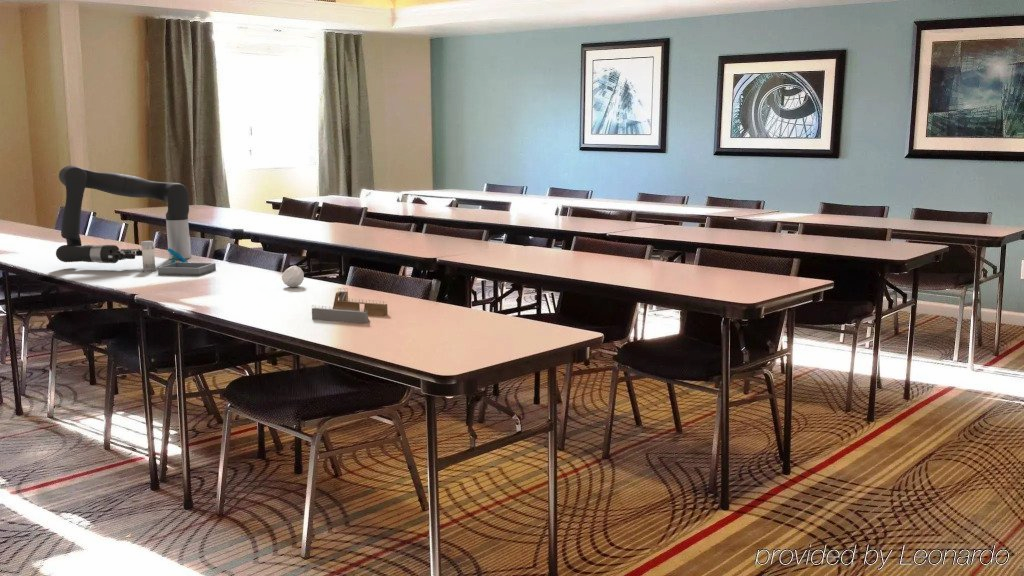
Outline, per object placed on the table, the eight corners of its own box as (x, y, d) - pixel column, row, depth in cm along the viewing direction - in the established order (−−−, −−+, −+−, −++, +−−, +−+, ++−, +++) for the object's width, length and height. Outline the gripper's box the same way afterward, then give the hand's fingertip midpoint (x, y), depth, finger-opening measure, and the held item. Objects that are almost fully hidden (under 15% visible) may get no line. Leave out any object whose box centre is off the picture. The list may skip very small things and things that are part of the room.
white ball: (278, 287, 344) (277, 266, 342) (293, 284, 350) (292, 263, 348) (293, 289, 339) (292, 268, 338) (309, 286, 345) (308, 265, 344)
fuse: (147, 269, 386) (145, 240, 384) (157, 269, 385) (155, 240, 383) (141, 271, 381) (138, 242, 379) (151, 271, 381) (149, 242, 378)
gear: (191, 262, 395) (172, 246, 391) (182, 272, 393) (163, 257, 389) (185, 262, 404) (167, 247, 400) (176, 272, 402) (157, 257, 398)
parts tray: (176, 269, 386) (175, 262, 386) (215, 270, 383) (215, 263, 382) (158, 274, 373) (157, 267, 372) (199, 275, 370) (198, 268, 369)
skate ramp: (289, 323, 287) (288, 299, 285) (348, 302, 319) (347, 280, 318) (373, 330, 276) (373, 305, 275) (426, 308, 309) (425, 285, 307)
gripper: (93, 247, 378) (129, 248, 375) (114, 242, 392) (149, 243, 389) (95, 265, 380) (131, 266, 376) (116, 260, 393) (151, 261, 390)
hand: (140, 254), depth 383 cm, fingers open, 8 cm apart
